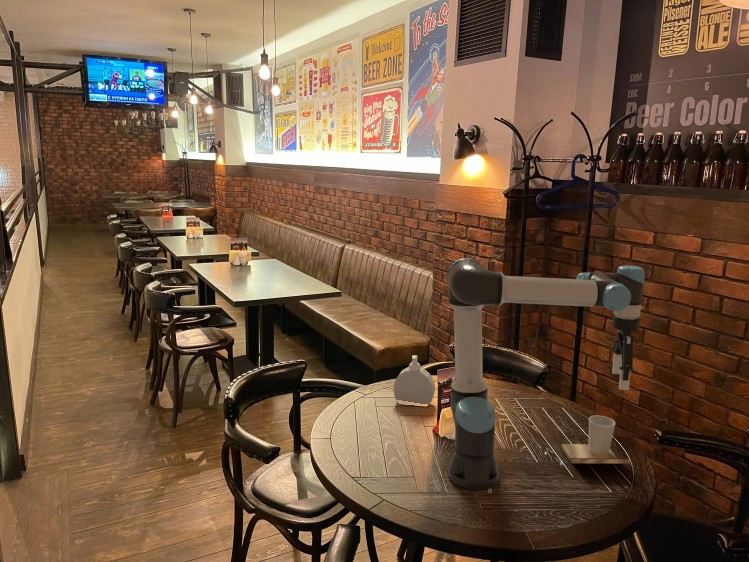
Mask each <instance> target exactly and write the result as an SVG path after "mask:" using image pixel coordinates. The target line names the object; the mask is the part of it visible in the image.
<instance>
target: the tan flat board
mask: <svg viewBox="0 0 749 562" xmlns="http://www.w3.org/2000/svg"><path fill="white" fill-rule="evenodd" d="M561 449H562V451H563V453H564V454H565V456H566V457H567V459H568V460H569V462H570V463H571V459H618V457H617V456H616V455H615V453H614V452H613V451H612V449H611V448H610V450H609V454H608V455H607V456H603V457H601V456H595V454H594V455H593V454H591V453H590V452H589V451H588V443H586V444H583V443H570V444H569V443H561Z"/></svg>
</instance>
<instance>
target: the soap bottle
mask: <svg viewBox="0 0 749 562" xmlns="http://www.w3.org/2000/svg"><path fill="white" fill-rule="evenodd" d="M411 356H412V357H411V358H412V359H411V362H410V363H409V365H408V367H406V368H404V369H402V370H401V372H400V373H399V374H398V376H397V377H396V379H395V380H394V384H393V388H392V389H393V390H392V391H393V394H394V399H395V400H396V401H397V400H402V401H408V402H414V403H420V404H428V405H429V406H430V405H431V403H432V402H433V399H434V397H435V392H436V384H435V380H434V378H433V377H432V375H431V373H429V372H428V370H426V369H424V368H423V367H421V364H420V363H419V362H418V355H415V354H414V355H411Z"/></svg>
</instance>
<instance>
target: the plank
mask: <svg viewBox="0 0 749 562" xmlns="http://www.w3.org/2000/svg"><path fill="white" fill-rule="evenodd" d="M570 463H571V464H617V465H618V464H621V465H622V464H631V459H629V458H628V459H627V458H626V459H625V458H624V459H623V458H617V459H571V462H570Z"/></svg>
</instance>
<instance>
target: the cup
mask: <svg viewBox="0 0 749 562" xmlns="http://www.w3.org/2000/svg"><path fill="white" fill-rule="evenodd" d="M615 427H616V421H615V420H614V419H612V418H610V417H608V416H604V415H590V417H588V438H587V439H588V443H587V444H588V451H589V452H590V453H591V454H593V455H594V454H595V456H601V457H603V456H607V455H608V454H609V450H610V449H611V444H612V440H613V436H614V431H615Z"/></svg>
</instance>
